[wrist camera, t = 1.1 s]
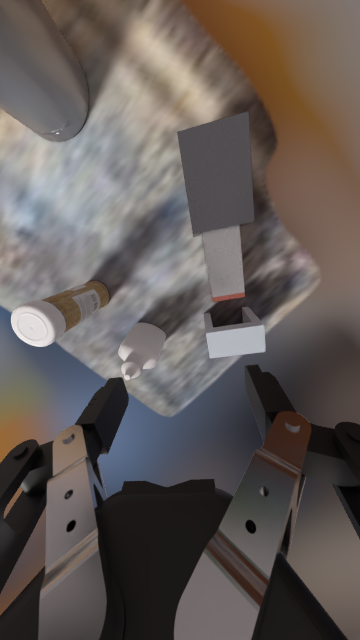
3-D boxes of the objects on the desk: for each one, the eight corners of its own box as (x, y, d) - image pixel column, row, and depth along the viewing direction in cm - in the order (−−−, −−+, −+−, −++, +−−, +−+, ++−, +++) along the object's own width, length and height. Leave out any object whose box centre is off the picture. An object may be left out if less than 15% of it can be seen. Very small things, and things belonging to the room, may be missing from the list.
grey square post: (192, 168, 24) (192, 150, 19) (225, 160, 24) (232, 139, 19) (210, 292, 30) (213, 302, 25) (237, 288, 29) (244, 296, 24)
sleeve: (182, 161, 24) (177, 131, 18) (234, 147, 23) (248, 111, 17) (193, 236, 27) (193, 234, 21) (240, 226, 26) (254, 221, 20)
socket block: (203, 313, 31) (206, 333, 24) (248, 306, 30) (264, 324, 23) (206, 334, 32) (210, 358, 25) (249, 327, 31) (265, 351, 24)
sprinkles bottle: (84, 276, 30) (7, 298, 18) (112, 285, 31) (55, 314, 18) (81, 303, 32) (8, 340, 20) (108, 311, 32) (53, 353, 20)
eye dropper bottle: (151, 351, 34) (130, 401, 23) (129, 327, 33) (96, 370, 22) (170, 337, 33) (157, 384, 22) (148, 313, 32) (123, 350, 21)
